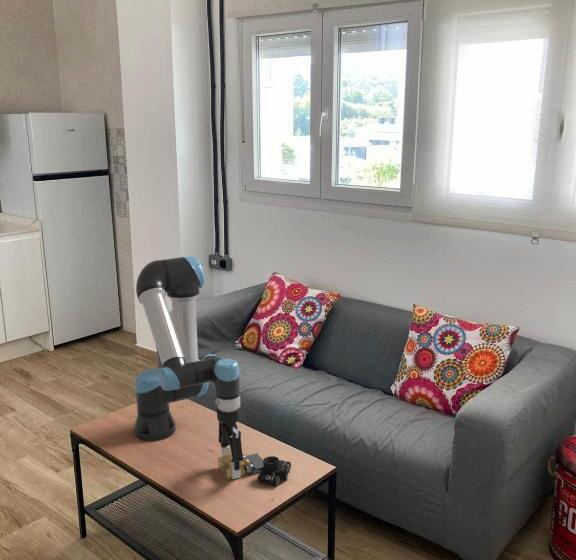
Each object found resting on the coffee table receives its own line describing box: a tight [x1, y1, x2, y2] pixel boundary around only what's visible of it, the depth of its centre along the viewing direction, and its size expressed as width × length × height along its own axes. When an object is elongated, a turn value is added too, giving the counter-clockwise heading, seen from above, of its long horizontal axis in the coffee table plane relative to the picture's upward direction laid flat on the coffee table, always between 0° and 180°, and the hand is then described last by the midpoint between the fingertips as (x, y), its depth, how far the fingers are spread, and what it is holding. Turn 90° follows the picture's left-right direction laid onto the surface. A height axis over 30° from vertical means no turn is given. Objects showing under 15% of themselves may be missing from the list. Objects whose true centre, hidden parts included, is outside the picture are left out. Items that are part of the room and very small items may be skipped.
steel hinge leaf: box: [242, 452, 264, 476], centre depth 213 cm, size 8×9×3 cm
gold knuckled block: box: [217, 453, 251, 481], centre depth 211 cm, size 10×8×4 cm
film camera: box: [257, 455, 292, 486], centre depth 208 cm, size 13×8×10 cm
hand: (231, 471), depth 211 cm, fingers closed on gold knuckled block, 8 cm apart
